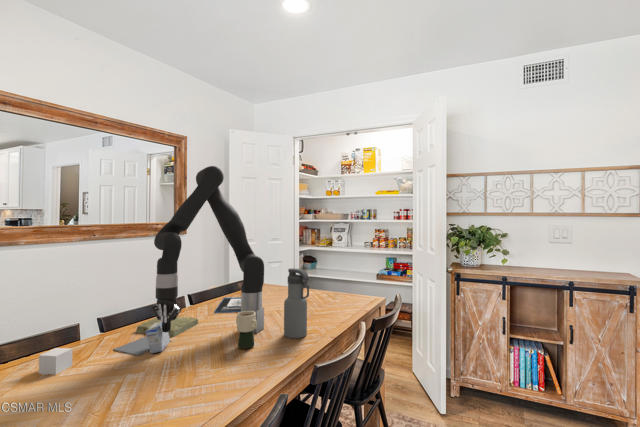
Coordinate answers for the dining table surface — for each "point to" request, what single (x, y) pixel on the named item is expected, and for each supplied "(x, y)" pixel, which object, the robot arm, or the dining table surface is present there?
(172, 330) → the folded green cloth
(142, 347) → the mat
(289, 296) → the water bottle
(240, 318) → the character mug
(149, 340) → the medicine box
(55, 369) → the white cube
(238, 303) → the sketchbook
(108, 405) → the dining table surface
